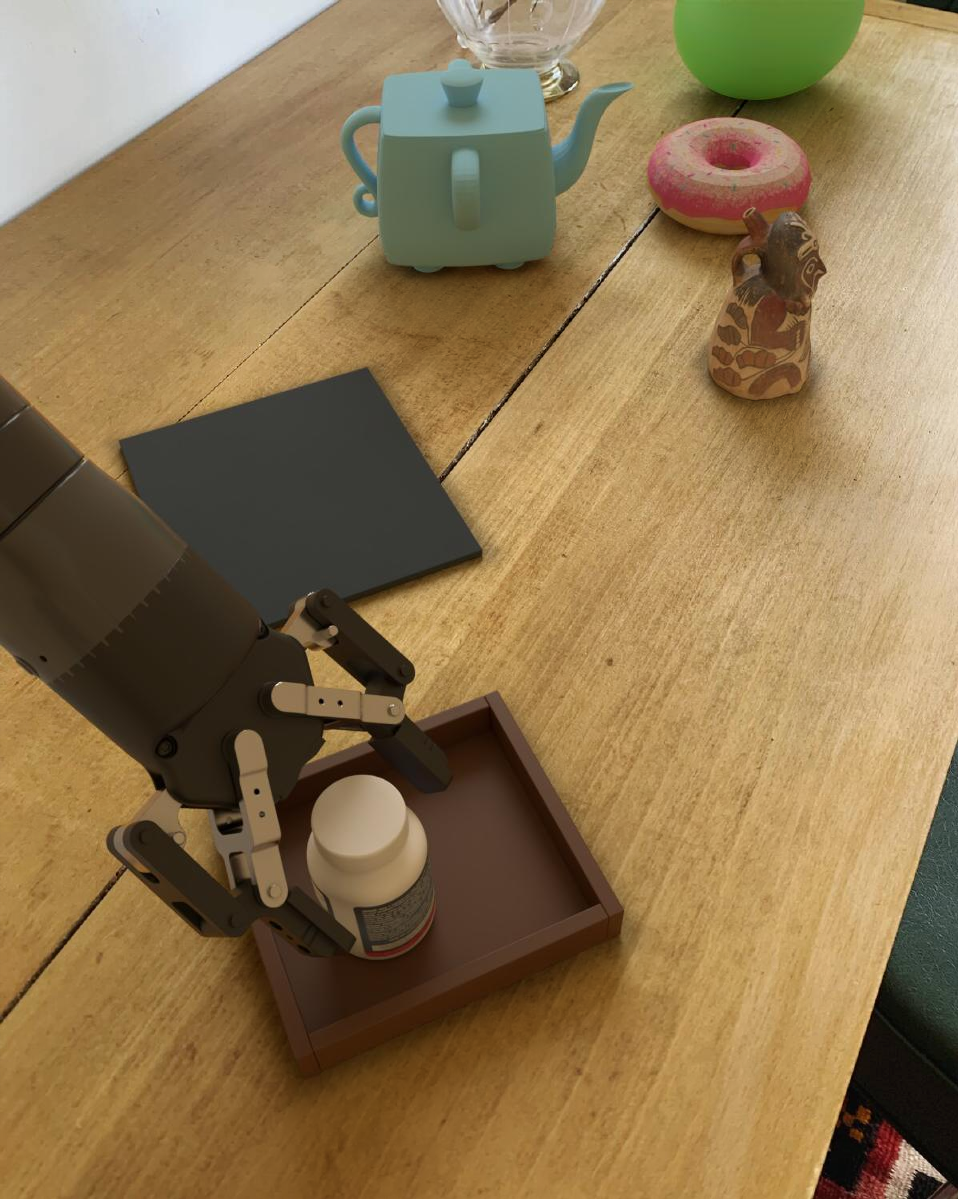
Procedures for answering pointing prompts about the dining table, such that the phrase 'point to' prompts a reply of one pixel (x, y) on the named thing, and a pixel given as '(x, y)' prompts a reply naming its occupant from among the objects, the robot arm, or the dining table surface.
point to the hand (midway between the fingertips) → (393, 863)
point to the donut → (727, 174)
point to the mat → (302, 494)
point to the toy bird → (764, 43)
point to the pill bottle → (371, 866)
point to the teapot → (469, 165)
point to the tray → (445, 891)
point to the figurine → (767, 310)
